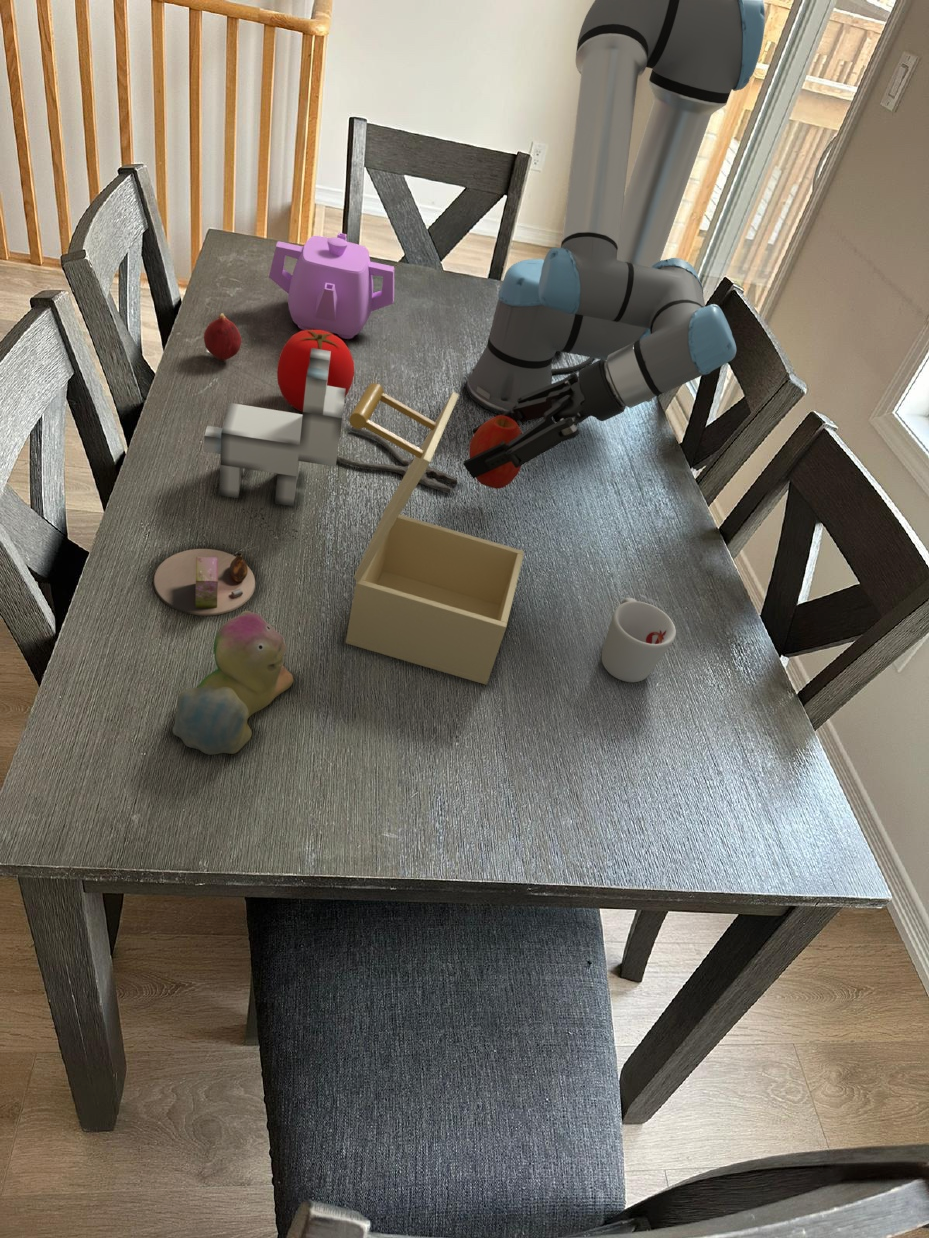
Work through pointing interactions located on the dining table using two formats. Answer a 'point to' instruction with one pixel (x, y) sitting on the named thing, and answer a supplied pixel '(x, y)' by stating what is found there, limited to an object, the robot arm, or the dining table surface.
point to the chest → (436, 599)
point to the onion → (222, 338)
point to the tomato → (297, 363)
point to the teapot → (331, 284)
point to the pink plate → (204, 582)
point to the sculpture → (233, 686)
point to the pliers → (400, 469)
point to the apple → (488, 438)
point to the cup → (636, 640)
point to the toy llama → (280, 435)
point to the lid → (422, 454)
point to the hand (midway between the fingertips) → (472, 453)
